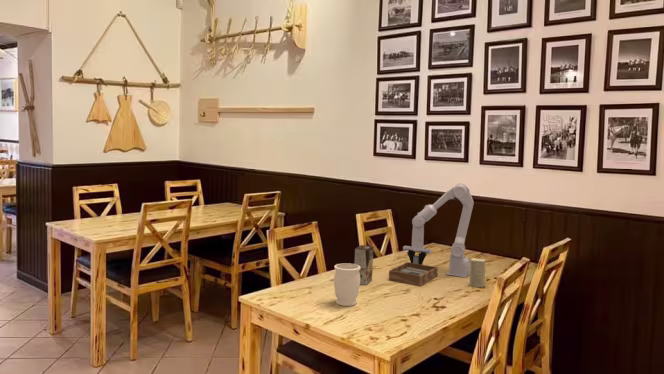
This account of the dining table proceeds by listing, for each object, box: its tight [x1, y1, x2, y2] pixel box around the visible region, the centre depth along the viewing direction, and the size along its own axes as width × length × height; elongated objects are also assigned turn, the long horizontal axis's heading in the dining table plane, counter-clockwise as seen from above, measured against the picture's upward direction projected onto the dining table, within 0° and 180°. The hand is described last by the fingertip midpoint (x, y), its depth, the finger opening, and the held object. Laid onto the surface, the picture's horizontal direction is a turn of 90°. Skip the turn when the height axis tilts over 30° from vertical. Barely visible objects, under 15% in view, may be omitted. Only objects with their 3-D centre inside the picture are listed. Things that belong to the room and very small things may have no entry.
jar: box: [333, 262, 361, 307], centre depth 212 cm, size 11×10×15 cm
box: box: [388, 261, 439, 287], centre depth 251 cm, size 20×16×4 cm
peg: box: [413, 254, 419, 264], centre depth 266 cm, size 4×4×7 cm
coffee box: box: [353, 244, 374, 286], centre depth 242 cm, size 9×6×16 cm
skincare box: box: [469, 257, 486, 288], centre depth 242 cm, size 6×4×12 cm
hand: (416, 266), depth 267 cm, fingers closed on peg, 4 cm apart
